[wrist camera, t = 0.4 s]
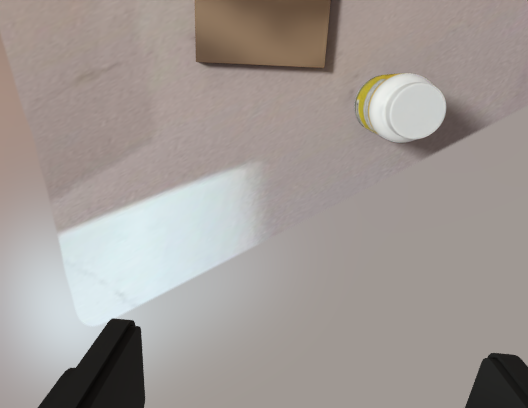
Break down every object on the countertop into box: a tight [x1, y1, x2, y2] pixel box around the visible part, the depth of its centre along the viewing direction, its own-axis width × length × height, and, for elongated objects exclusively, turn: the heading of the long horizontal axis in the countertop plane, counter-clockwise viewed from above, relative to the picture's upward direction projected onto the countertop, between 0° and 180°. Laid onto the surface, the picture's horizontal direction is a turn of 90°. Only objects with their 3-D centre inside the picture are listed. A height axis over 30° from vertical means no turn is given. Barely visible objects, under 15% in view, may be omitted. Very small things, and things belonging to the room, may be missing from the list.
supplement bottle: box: [354, 73, 446, 143], centre depth 29 cm, size 5×5×10 cm
